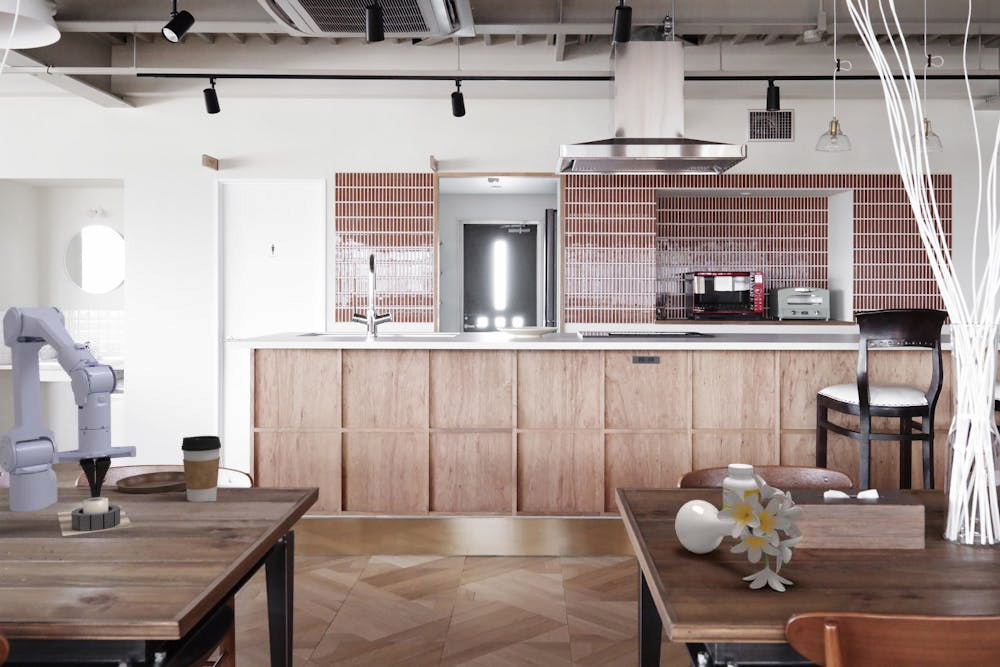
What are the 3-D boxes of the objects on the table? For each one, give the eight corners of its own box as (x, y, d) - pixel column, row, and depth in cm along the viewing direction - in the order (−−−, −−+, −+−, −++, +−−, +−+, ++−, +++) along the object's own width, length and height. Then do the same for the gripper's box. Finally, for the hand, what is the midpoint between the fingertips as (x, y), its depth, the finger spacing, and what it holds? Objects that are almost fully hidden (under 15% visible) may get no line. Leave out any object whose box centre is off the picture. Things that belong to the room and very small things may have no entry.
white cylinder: (90, 522, 157) (90, 497, 156) (112, 522, 157) (112, 497, 157) (78, 528, 152) (78, 502, 152) (101, 528, 152) (101, 502, 152)
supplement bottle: (760, 528, 155) (760, 464, 155) (756, 537, 149) (756, 470, 149) (725, 524, 158) (726, 461, 158) (720, 533, 152) (720, 467, 152)
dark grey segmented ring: (86, 519, 159) (85, 504, 159) (127, 519, 159) (127, 504, 159) (62, 531, 150) (62, 515, 150) (106, 531, 150) (106, 515, 150)
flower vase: (678, 591, 139) (771, 602, 117) (647, 489, 142) (732, 480, 119) (735, 569, 144) (835, 575, 122) (704, 470, 147) (797, 458, 124)
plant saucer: (107, 501, 179) (107, 488, 179) (124, 485, 196) (124, 472, 196) (190, 497, 183) (190, 484, 183) (199, 481, 200) (199, 469, 200)
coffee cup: (173, 505, 174) (172, 438, 174) (201, 497, 182) (200, 432, 182) (203, 508, 171) (202, 440, 171) (230, 500, 179) (229, 434, 179)
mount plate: (57, 517, 164) (57, 512, 164) (120, 509, 170) (120, 505, 170) (62, 541, 147) (62, 535, 147) (133, 531, 153) (133, 526, 153)
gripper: (53, 433, 147) (54, 505, 147) (137, 427, 154) (138, 496, 155) (51, 428, 153) (52, 497, 153) (133, 422, 160) (133, 489, 161)
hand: (95, 496), depth 154 cm, fingers closed
